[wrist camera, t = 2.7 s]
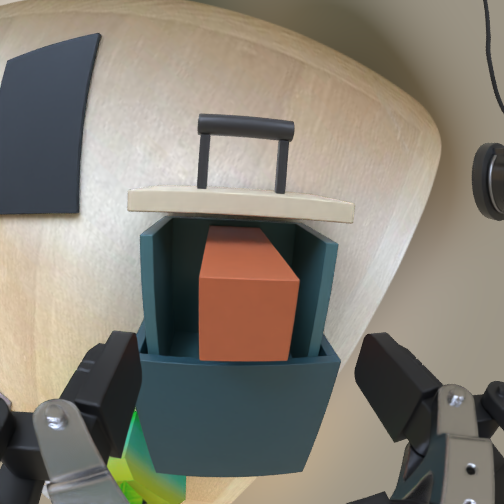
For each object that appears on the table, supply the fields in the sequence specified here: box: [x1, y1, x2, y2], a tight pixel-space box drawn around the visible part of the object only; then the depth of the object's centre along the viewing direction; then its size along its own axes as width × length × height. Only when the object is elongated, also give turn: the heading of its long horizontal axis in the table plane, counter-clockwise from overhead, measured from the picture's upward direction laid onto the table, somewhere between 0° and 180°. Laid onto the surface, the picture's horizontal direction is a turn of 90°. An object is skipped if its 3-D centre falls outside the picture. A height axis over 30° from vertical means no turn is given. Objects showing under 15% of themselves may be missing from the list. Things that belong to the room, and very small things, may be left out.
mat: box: [0, 33, 101, 214], centre depth 19 cm, size 18×13×1 cm
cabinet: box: [135, 319, 341, 477], centre depth 23 cm, size 15×14×10 cm
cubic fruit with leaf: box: [107, 411, 186, 504], centre depth 23 cm, size 11×10×15 cm
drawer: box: [127, 114, 355, 358], centre depth 20 cm, size 18×13×8 cm
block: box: [199, 225, 300, 362], centre depth 17 cm, size 4×4×12 cm
